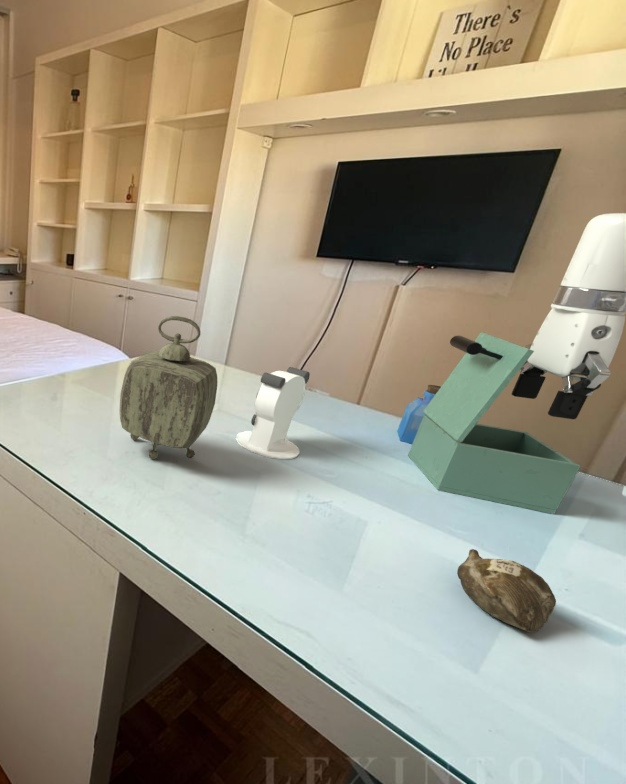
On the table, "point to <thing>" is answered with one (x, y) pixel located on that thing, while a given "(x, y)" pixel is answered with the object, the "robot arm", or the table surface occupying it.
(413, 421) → the perfume bottle
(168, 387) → the tabletop clock
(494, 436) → the green storage box
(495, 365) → the lid
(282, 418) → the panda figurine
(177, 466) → the table surface
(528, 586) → the fossilized seashell
